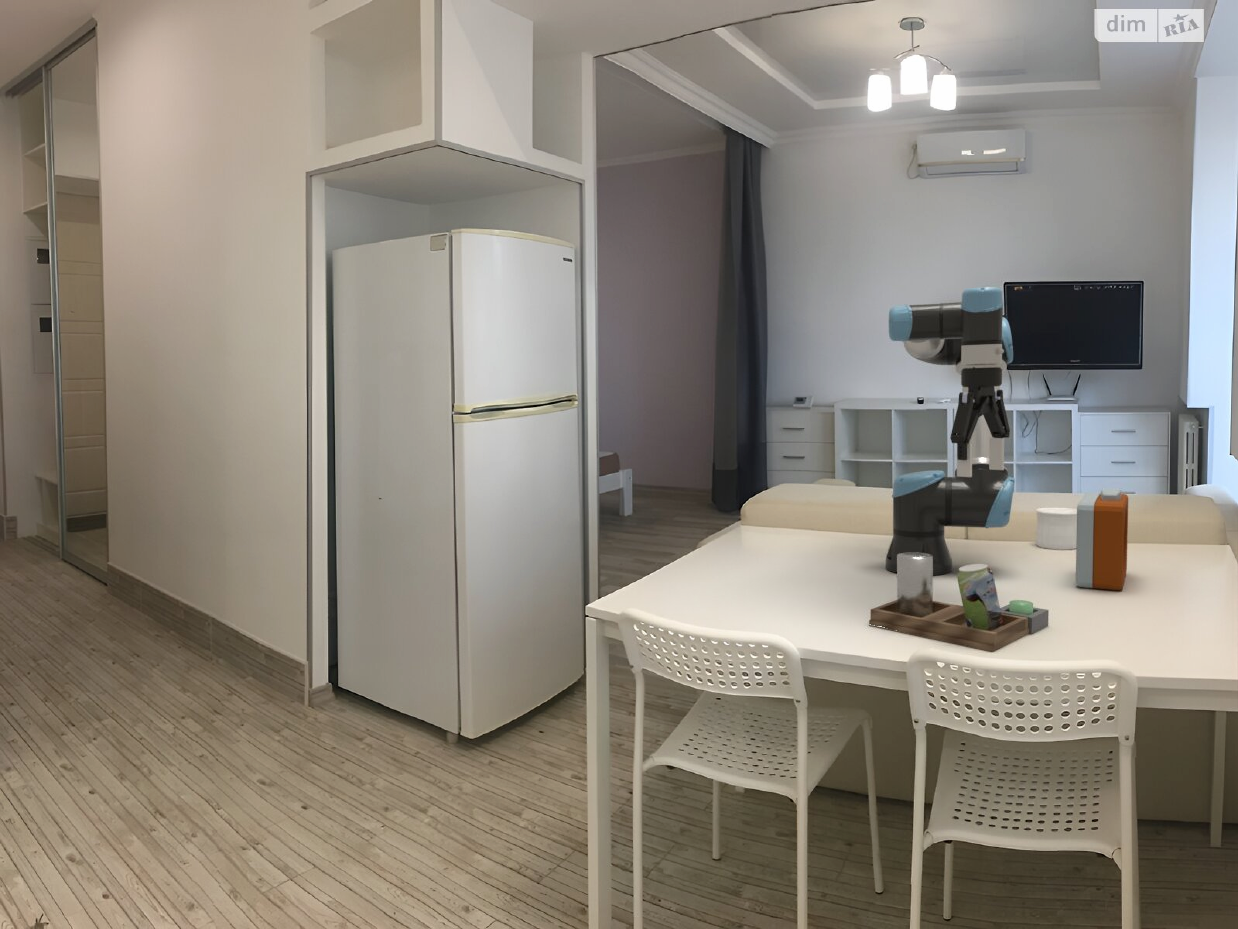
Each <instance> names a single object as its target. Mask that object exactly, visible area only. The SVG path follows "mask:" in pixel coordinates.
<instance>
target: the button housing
mask: <svg viewBox="0 0 1238 929" xmlns="http://www.w3.org/2000/svg"><path fill="white" fill-rule="evenodd" d="M1000 610H1001V613H1003V614H1009V615H1015V616H1020V617H1026V618H1028V628H1029V634H1028V635H1032V634H1035V633H1037V632H1039V631H1041V630H1043V629H1045V628H1047V627H1049V615H1050V614H1049V611H1050V610H1049V609H1047V608H1046V609H1045V608H1040V607H1039V608H1038V607H1034V606H1033V613H1032V614H1030V615H1024V614H1018V613H1013V612H1009V604H1007V605H1004V606H1002V607H1000Z"/></svg>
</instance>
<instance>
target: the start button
mask: <svg viewBox="0 0 1238 929" xmlns="http://www.w3.org/2000/svg"><path fill="white" fill-rule="evenodd" d="M1008 605H1009V612H1013V613H1018V614H1024V615H1030V614H1032V613H1033V607H1034V603H1033V601H1029V600H1021V599H1013V600H1010V601H1009V604H1008Z"/></svg>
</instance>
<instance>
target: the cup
mask: <svg viewBox="0 0 1238 929" xmlns="http://www.w3.org/2000/svg"><path fill="white" fill-rule="evenodd" d="M1035 512H1036V530H1035V541H1036V542H1035V543H1036V545H1037V546H1038V547H1039V548H1042V549H1048V550H1058V551H1059V550H1060V551H1061V550H1062V551H1067V550H1076V537H1077V508H1075V509H1074V508H1070V507H1069V508H1068V507H1043V508H1042V507H1040V508H1037V509H1036V510H1035Z"/></svg>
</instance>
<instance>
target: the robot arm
mask: <svg viewBox="0 0 1238 929" xmlns="http://www.w3.org/2000/svg"><path fill="white" fill-rule="evenodd" d="M1003 300H1004V299H1003V291H1002V289H1001V288H1000V287H997V286H985V287H984V286H983V287H982V286H981V287H972V288H966V289H964V290H963V291H962V293H961V301H960V302H958V301H957V302H944V303H932V304H930V303H929V304H910V305H909V304H904V305H897V306H891V308H890V309H889V311H888V335H889V339H890V340H891V341H892V342H902V343H903V345H904V346H903V347H904V348H905V351H906V352H907V353H908V354H909V356H911V357H912V358H914V359H916V360H918V361H920V362H923V363H926V364H931V365H938V366H955V371H956V373H957V374H958V375H959V376H961V377H960V378H961V380H960V383H961V387H962V388H961V391H960V392H959V394H958V404H957V409H956V412H955V416H954V421H953V425H952V429H951V432H950V441H951V443H952V444H956V468H955V469H954V476H946V473H945V471H943V470H940V469H939V470H933V469H932V470H923V471H915V472H914V471H913V472H908V473H904V474H901V475H898V476H897V477H895V479H894V481H893V486H892V487H893V488H892V490H893V491H892V495H891V498H892V499H893V500H892V503H893V504H892V506H893V508H892V537H891V538H892V539H891V542H890V544H889V548H888V551H887V553H886V557H885V569H886V568H887V569H888V570H887V569H886V570H887V571H889V570H890V571H889V572H893V573H896V572H897V555H898V554H900V553H907V552H918V553H926V554H930V555H932V556H933V576H939V575H944V574H948V573H951V572H953V559H952V557H951V554H950V550H949V548H948V543H947V541H946V538H945V527H952V528H953V527H956V528H958V527H959V528H983V529H984V528H985V529H989V528H990V529H993V528H1004V527H1006V526H1007V525H1008V524H1009V522H1010V517H1011V511H1012V503H1013V495H1014V490H1015V489H1014V488H1015V482H1016V481H1015V478H1014V477H1011V476H1009V471H1008V468H1006V467H1005V439H1006V438H1007V439H1009V438H1010V435H1011V434H1010V431H1011V429H1010V425H1009V420H1008V417H1007V416H1008V415H1007V410H1006V407H1005V402H1004V390H1003V389H1001V386H1002V385H1003V384H1002V383H1003V373H1005V371H1006V370H1007V368H1008V367H1007V365H1009V364H1011V363H1012V362H1013V360H1014V349H1013V348H1014V347H1013V339H1012V337H1013V336H1012V332H1011V327H1010V323H1009V321H1008V320H1007V318H1006V317H1004V315H1003V309H1004V308H1003V307H1004V301H1003Z"/></svg>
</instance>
